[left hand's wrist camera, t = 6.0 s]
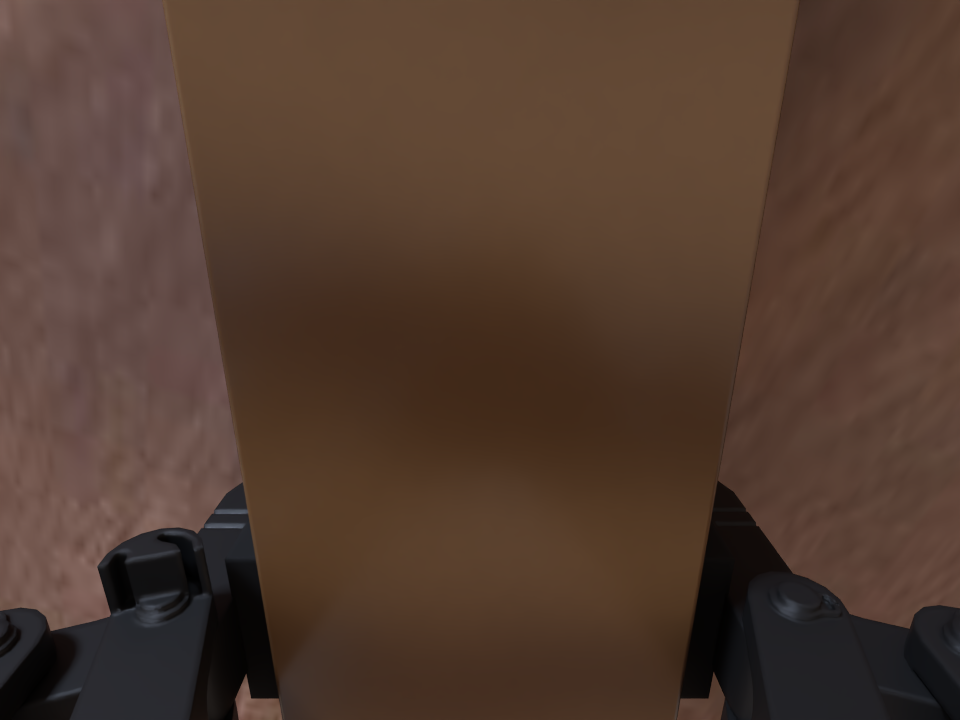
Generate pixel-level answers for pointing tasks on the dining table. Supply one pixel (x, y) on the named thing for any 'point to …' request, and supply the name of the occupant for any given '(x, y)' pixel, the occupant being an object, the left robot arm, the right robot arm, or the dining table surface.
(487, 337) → the bar
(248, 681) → the left robot arm
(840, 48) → the dining table surface
